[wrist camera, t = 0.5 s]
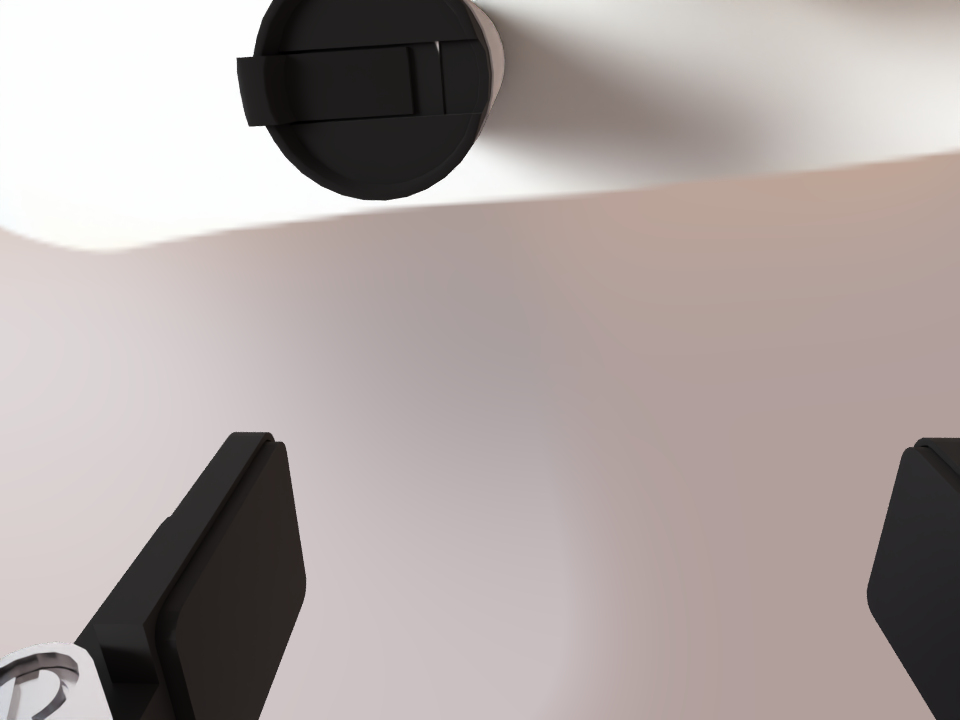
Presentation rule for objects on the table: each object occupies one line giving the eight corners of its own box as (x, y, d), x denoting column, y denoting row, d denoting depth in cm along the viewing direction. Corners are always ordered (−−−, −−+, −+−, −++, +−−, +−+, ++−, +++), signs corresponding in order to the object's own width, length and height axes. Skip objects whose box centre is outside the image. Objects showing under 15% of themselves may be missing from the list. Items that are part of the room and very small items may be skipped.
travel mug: (369, -1, 35) (209, -45, 17) (502, -10, 35) (482, -66, 17) (383, 130, 38) (257, 213, 20) (507, 124, 38) (495, 201, 19)
